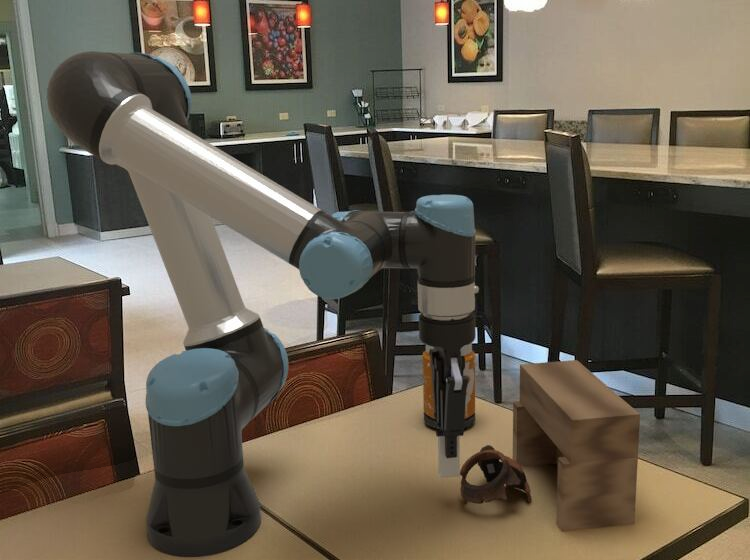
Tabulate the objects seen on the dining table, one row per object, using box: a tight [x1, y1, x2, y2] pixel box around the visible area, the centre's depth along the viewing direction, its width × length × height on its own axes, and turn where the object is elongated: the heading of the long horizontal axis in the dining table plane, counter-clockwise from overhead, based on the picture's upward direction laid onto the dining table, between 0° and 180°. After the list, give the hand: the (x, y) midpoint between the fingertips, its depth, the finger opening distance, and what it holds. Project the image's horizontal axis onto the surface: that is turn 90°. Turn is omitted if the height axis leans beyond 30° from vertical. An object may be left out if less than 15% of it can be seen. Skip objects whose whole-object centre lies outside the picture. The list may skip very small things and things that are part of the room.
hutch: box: [512, 359, 641, 533], centre depth 112 cm, size 10×21×16 cm, turn 8°
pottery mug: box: [459, 444, 533, 505], centre depth 112 cm, size 12×9×8 cm
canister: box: [422, 342, 476, 430], centre depth 137 cm, size 9×11×20 cm
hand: (449, 474), depth 111 cm, fingers closed
